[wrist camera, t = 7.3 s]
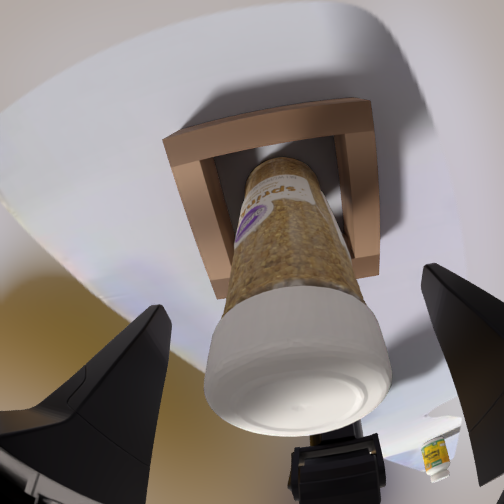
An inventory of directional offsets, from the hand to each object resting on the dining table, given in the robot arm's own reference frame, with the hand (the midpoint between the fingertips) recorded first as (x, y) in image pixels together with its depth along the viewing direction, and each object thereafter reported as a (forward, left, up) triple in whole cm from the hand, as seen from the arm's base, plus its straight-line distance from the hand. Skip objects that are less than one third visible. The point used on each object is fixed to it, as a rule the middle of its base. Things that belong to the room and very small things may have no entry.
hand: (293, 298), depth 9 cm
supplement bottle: (-56, -24, -10) cm, 62 cm away
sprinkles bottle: (0, 0, -10) cm, 10 cm away
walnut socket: (0, 0, -10) cm, 10 cm away
